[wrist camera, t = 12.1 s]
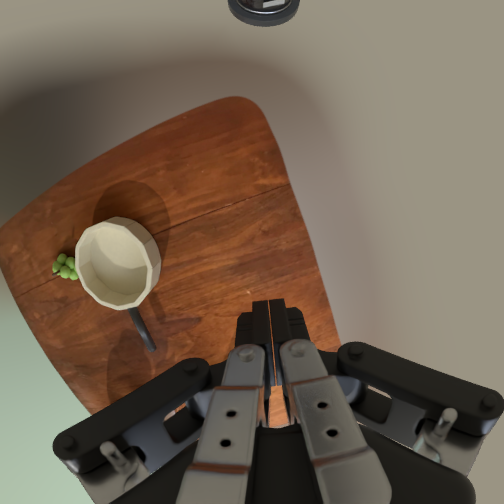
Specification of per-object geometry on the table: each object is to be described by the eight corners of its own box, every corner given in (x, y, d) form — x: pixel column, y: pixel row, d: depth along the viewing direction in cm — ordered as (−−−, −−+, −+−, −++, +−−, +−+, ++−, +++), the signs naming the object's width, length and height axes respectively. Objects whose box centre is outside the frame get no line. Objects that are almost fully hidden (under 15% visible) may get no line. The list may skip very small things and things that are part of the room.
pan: (78, 231, 41) (63, 238, 37) (143, 205, 40) (131, 210, 36) (129, 345, 48) (120, 359, 43) (193, 334, 47) (188, 349, 42)
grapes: (56, 268, 43) (39, 278, 38) (59, 246, 42) (41, 256, 37) (83, 283, 44) (67, 296, 39) (86, 261, 43) (69, 273, 38)
